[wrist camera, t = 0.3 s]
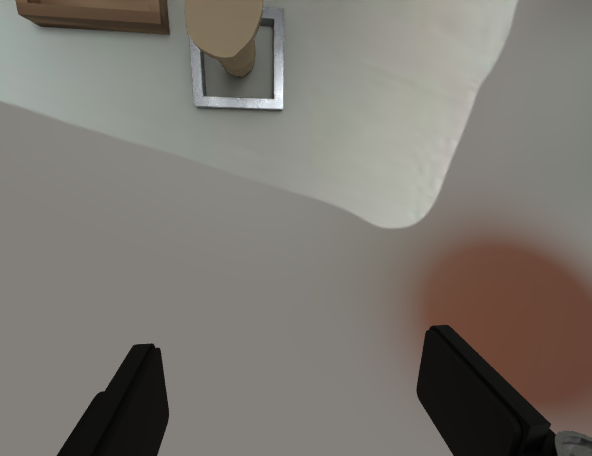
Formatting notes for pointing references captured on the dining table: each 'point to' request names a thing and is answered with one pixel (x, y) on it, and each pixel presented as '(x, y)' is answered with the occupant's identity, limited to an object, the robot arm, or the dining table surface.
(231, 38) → the handle
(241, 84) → the dining table surface
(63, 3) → the tray
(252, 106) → the collar
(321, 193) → the dining table surface
